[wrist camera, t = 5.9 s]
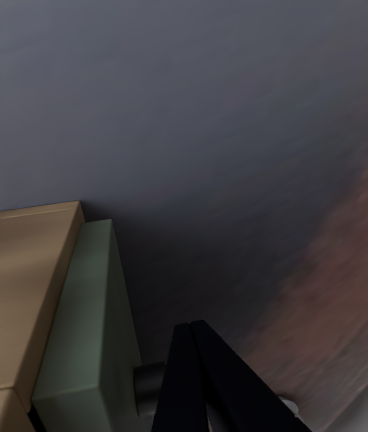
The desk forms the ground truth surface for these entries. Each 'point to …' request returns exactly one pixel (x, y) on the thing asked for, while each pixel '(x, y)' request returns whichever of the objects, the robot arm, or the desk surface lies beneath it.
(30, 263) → the drawer unit
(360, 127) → the desk surface
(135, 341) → the drawer
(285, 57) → the desk surface
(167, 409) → the robot arm
